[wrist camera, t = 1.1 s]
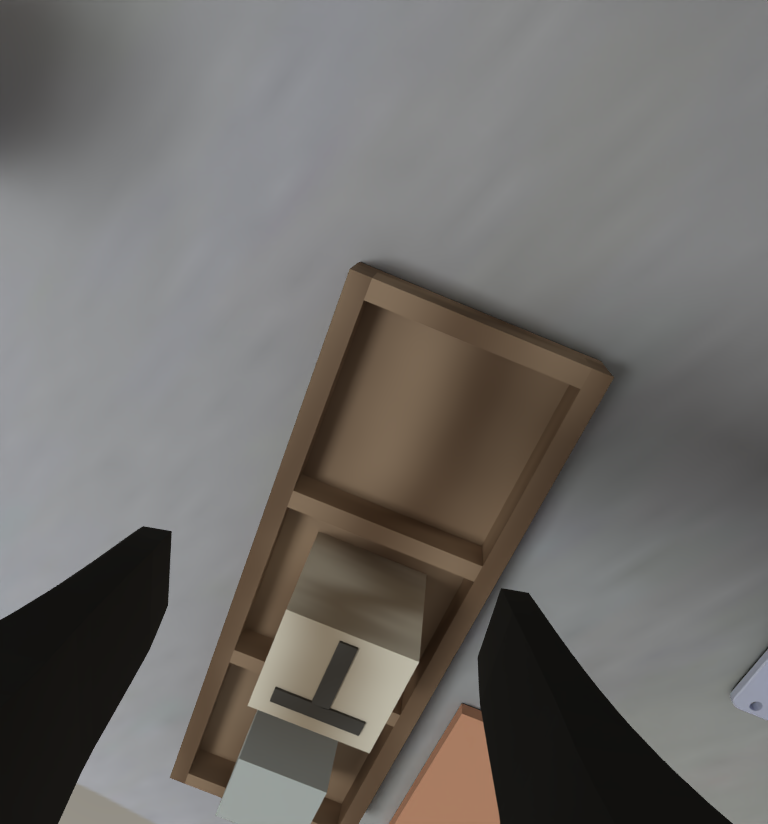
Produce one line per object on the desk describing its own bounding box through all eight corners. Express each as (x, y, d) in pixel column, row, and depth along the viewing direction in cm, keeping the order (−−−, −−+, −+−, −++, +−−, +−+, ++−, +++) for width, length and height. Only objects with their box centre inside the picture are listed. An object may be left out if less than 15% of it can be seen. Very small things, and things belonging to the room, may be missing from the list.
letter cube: (426, 574, 25) (419, 664, 20) (385, 656, 27) (369, 755, 22) (318, 531, 25) (285, 611, 20) (284, 616, 27) (246, 707, 22)
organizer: (600, 361, 22) (614, 377, 20) (352, 807, 32) (345, 845, 30) (359, 261, 21) (349, 268, 20) (187, 743, 32) (169, 777, 30)
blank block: (344, 714, 29) (326, 792, 25) (318, 766, 30) (298, 847, 26) (267, 684, 29) (238, 758, 25) (245, 737, 30) (215, 815, 26)
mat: (652, 778, 28) (655, 790, 28) (556, 891, 32) (557, 904, 32) (461, 703, 28) (461, 713, 28) (387, 826, 32) (386, 837, 31)
